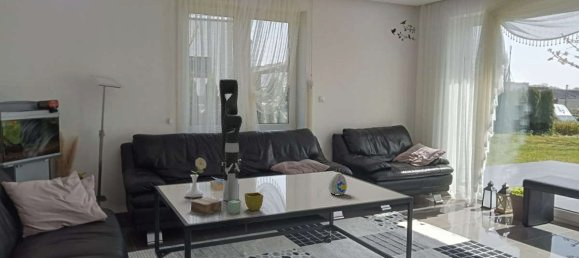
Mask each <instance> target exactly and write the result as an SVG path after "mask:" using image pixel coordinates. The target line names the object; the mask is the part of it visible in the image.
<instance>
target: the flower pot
mask: <svg viewBox="0 0 579 258" xmlns="http://www.w3.org/2000/svg"><path fill="white" fill-rule="evenodd" d="M244 201H245V205H246V207H247V209H248V210H249V211H252V212H253V211H260V209H261V208H262V206H263V202H264V195H263V194H261V192H258V191H257V192H247V193H244Z"/></svg>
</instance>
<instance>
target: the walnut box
mask: <svg viewBox="0 0 579 258" xmlns="http://www.w3.org/2000/svg"><path fill="white" fill-rule="evenodd" d="M190 212H193V213H195V214H196V213H197V214H199V213H200V214H199V215H202V214H203V215H202V216H207V214H208V215H211V213H212V214H215V213H218V212H222V200H219V199H215V198H211V197H203V198H198V199H194V200H190ZM214 212H215V213H214Z"/></svg>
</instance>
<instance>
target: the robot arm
mask: <svg viewBox="0 0 579 258" xmlns="http://www.w3.org/2000/svg"><path fill="white" fill-rule="evenodd" d="M218 87H219V97H220V98H219V99H220V123H221V124H220V126H221V127H220V128H221V146H220V156H221V157H220V158H221V159H222V161H221V162H220V173H221V174H222V175H223V184H222V185H223V187H222V188H223V191H222V200H224V201H227V202H229V201H232V200H236V201H239V199H240V183H239V178H240V172H241V171H243V160H242V159H240V158H241V157H240V156H241V152H240V151H241V150H240V148H239V147H240V145H239V136H240V134H239V133H240V131H241V128H242V123H243V118H242V116H241V115H240V114H239V109H238V98H239V82H238V80H237V79H236V78H221V79H220V80H219V84H218ZM226 95H230V96H229V98H228V99H227V97H226Z"/></svg>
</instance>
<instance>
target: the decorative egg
mask: <svg viewBox="0 0 579 258" xmlns="http://www.w3.org/2000/svg"><path fill="white" fill-rule="evenodd" d="M346 179H347V178H346V177H345V175H344V174H342V173H341V172H335V173H333V174H332V175H331V177H330V179H329V181H328V190H329V191H328V192H329V193H330V194H331V193H332V194H344V195H345V193H346V192H347V188H348V184H347V180H346ZM332 194H331V195H332Z"/></svg>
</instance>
